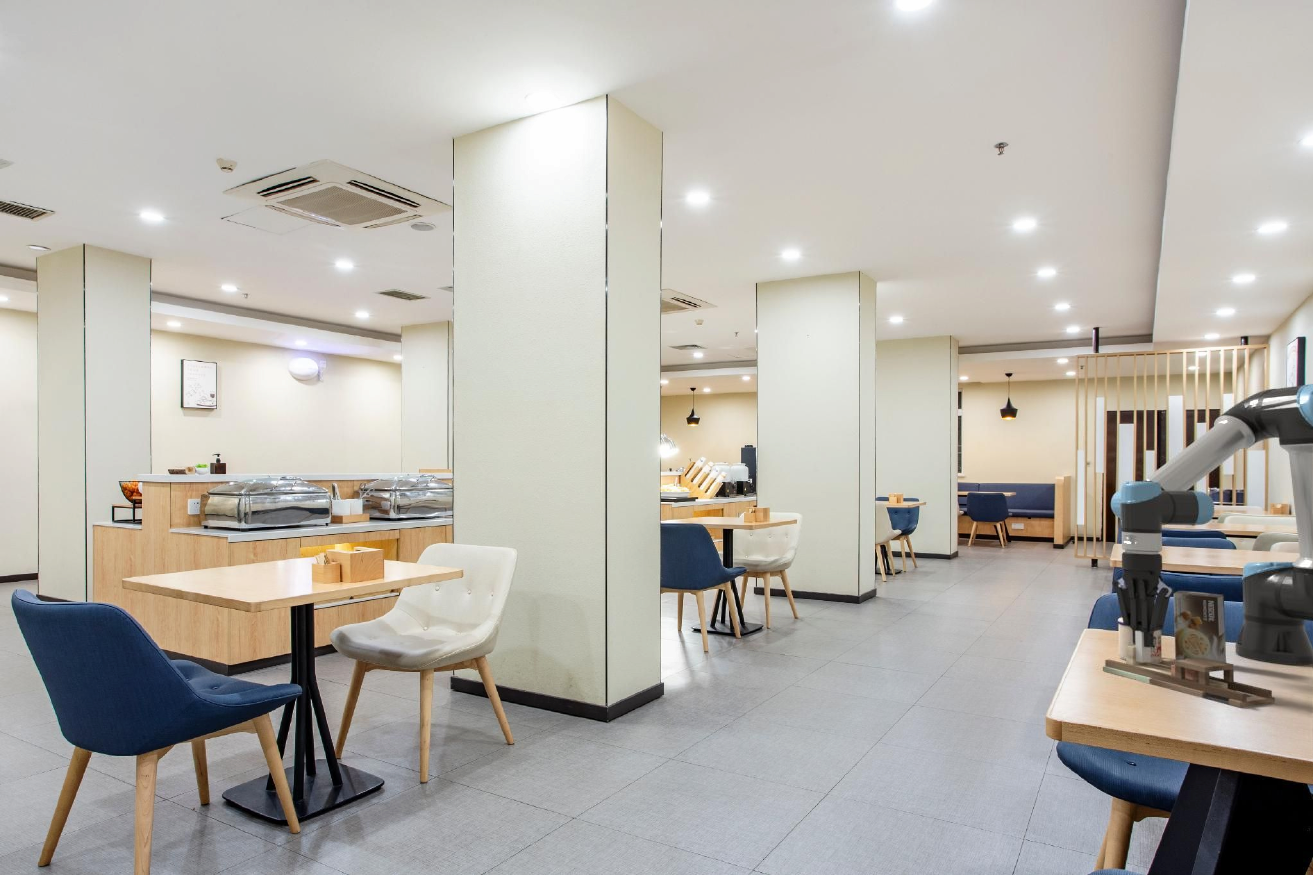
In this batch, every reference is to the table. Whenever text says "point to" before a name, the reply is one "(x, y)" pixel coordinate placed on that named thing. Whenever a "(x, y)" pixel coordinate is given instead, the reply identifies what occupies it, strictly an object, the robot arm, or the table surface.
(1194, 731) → the table surface
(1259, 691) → the tunnel board
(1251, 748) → the table surface
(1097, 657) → the table surface
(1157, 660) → the teacup with lid
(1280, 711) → the table surface
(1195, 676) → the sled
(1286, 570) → the robot arm
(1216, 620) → the coffee box
